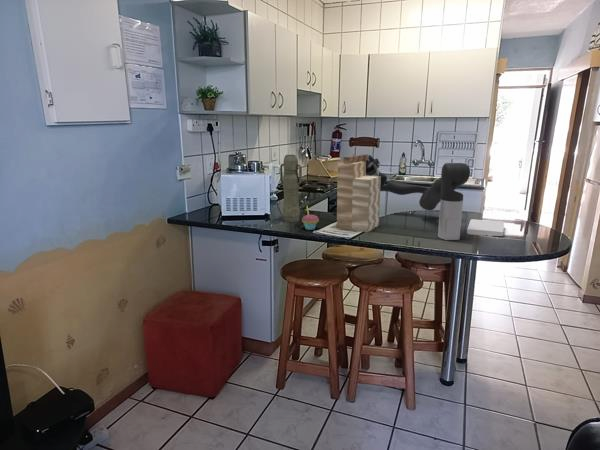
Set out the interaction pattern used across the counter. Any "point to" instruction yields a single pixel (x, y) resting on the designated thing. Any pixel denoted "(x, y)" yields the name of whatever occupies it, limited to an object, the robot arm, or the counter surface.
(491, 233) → the food packaging
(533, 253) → the counter surface
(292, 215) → the thermos
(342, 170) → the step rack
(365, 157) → the walnut bar
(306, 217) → the cupcake
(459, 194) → the robot arm
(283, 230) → the counter surface
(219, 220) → the counter surface
